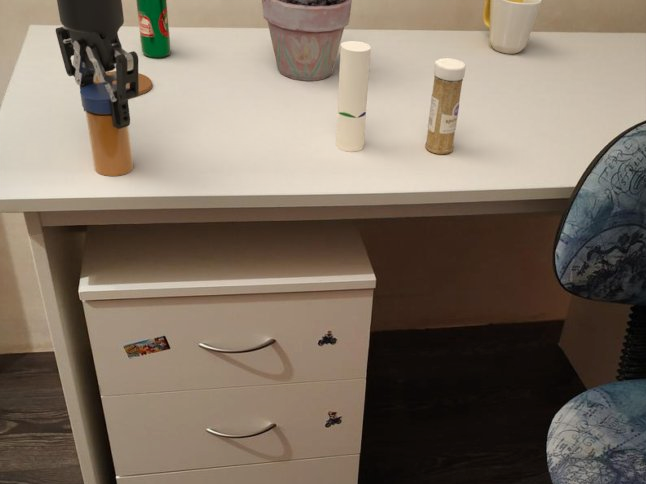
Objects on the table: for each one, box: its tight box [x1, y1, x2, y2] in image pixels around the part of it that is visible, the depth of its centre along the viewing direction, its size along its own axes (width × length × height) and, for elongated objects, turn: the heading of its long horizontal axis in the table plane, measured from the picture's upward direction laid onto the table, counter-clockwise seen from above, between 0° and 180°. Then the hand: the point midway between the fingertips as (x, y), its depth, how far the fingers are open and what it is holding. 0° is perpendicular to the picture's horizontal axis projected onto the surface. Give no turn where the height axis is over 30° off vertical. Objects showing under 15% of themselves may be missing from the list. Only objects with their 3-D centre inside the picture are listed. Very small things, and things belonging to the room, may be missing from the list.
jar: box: [84, 110, 134, 177], centre depth 109 cm, size 5×5×10 cm
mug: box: [482, 0, 543, 55], centre depth 164 cm, size 14×10×10 cm
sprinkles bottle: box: [424, 57, 467, 155], centre depth 122 cm, size 5×5×13 cm
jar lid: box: [79, 83, 117, 114], centre depth 106 cm, size 6×6×2 cm
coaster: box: [93, 70, 153, 96], centre depth 134 cm, size 10×10×1 cm
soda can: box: [135, 0, 172, 59], centre depth 142 cm, size 5×5×12 cm
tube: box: [335, 40, 372, 153], centre depth 120 cm, size 4×4×15 cm
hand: (107, 118), depth 108 cm, fingers closed on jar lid, 5 cm apart
